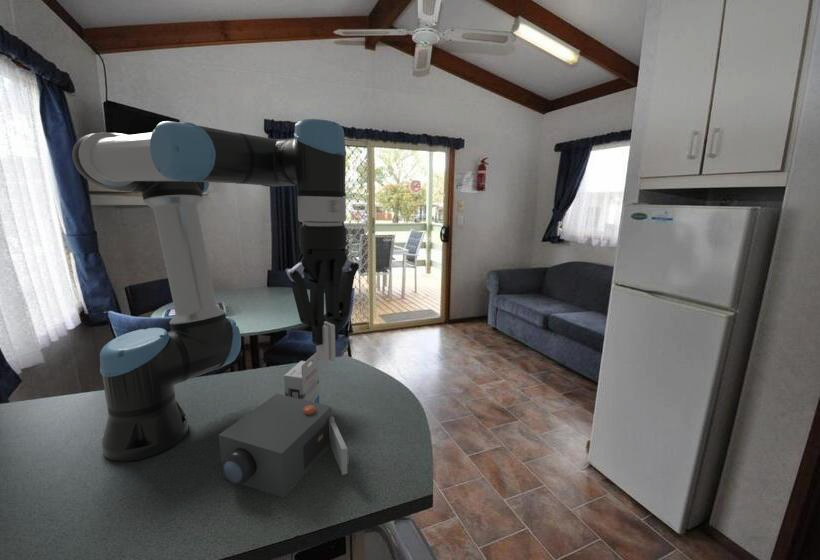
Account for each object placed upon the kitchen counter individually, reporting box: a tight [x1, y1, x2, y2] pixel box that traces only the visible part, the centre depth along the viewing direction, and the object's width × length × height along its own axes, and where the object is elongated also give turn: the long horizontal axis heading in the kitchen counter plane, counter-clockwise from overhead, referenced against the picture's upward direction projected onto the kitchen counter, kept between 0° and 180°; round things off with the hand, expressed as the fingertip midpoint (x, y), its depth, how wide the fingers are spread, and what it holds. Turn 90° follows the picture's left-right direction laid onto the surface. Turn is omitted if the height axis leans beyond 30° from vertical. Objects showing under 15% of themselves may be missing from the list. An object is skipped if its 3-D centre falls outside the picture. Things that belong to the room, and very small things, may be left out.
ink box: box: [283, 351, 320, 404], centre depth 90 cm, size 9×5×15 cm, turn 168°
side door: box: [330, 421, 350, 476], centre depth 73 cm, size 9×2×6 cm, turn 25°
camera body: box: [218, 393, 335, 499], centre depth 72 cm, size 15×19×10 cm
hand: (326, 359), depth 65 cm, fingers closed
